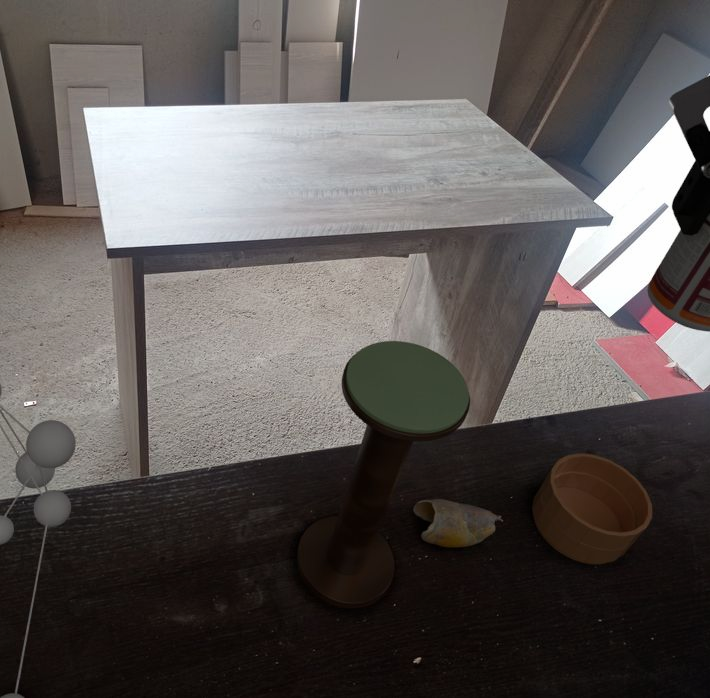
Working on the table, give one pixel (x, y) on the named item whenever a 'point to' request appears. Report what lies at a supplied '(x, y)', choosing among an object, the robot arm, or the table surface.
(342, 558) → the stand
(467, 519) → the cream hollow shell
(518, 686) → the table surface
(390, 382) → the coaster
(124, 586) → the table surface
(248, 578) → the table surface
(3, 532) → the molecule model
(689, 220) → the robot arm
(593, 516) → the bowl
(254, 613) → the table surface
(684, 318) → the pill bottle
